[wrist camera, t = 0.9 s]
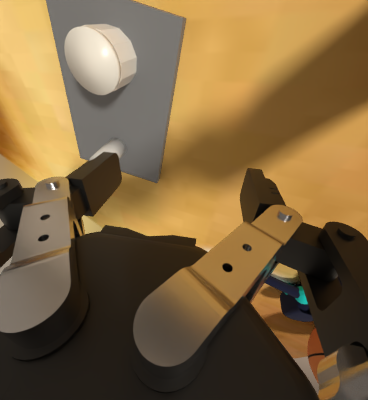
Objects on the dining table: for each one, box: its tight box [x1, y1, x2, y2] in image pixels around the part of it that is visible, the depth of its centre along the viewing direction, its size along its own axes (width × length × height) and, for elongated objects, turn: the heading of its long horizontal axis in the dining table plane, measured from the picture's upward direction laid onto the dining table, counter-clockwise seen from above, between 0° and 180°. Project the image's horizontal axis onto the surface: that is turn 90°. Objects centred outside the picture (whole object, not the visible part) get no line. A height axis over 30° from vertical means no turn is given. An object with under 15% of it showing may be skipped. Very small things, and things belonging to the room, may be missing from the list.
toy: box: [265, 276, 342, 322], centre depth 46 cm, size 31×8×30 cm
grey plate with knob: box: [46, 0, 186, 183], centre depth 27 cm, size 24×16×8 cm, turn 167°
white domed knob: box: [64, 24, 137, 95], centre depth 22 cm, size 6×6×5 cm
